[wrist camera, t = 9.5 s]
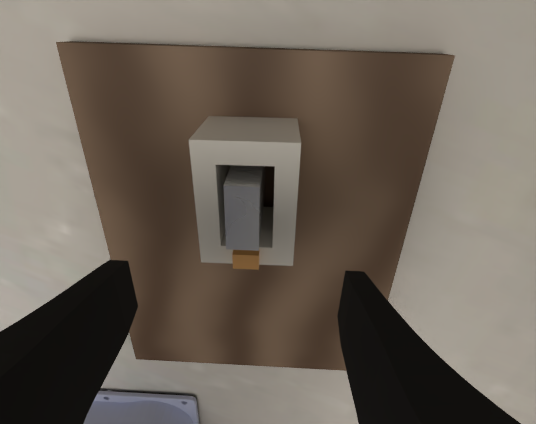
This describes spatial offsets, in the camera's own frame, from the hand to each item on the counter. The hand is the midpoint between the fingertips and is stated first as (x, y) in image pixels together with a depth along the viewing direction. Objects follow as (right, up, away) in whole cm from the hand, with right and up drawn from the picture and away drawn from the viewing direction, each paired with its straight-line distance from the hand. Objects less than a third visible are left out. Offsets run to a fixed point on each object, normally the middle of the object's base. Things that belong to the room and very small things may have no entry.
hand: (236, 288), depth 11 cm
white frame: (0, +5, +7) cm, 8 cm away
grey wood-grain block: (0, +5, +7) cm, 8 cm away
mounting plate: (0, +1, +10) cm, 10 cm away
